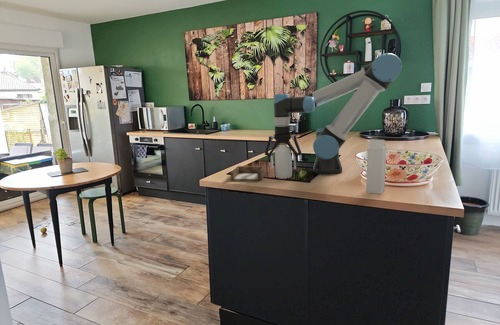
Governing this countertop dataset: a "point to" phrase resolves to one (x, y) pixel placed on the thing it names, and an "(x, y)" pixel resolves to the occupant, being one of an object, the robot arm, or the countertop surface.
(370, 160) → the milk
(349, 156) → the countertop surface
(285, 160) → the white bottle
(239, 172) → the brown tray
